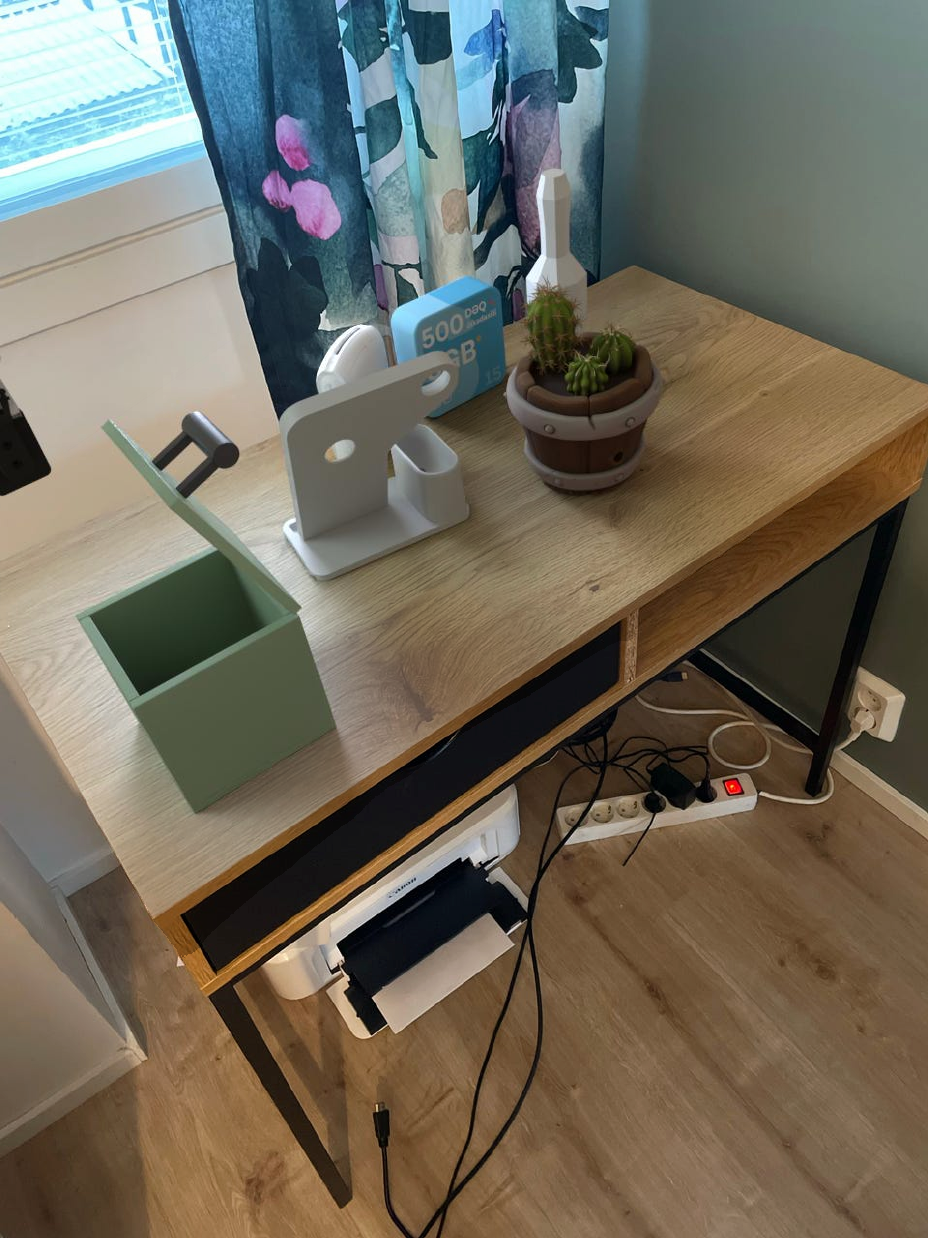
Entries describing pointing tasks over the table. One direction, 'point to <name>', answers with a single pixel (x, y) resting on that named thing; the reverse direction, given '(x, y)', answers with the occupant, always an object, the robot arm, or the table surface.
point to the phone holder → (371, 467)
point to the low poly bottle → (557, 245)
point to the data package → (455, 335)
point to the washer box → (211, 673)
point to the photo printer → (351, 365)
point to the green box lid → (180, 494)
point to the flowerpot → (581, 398)
